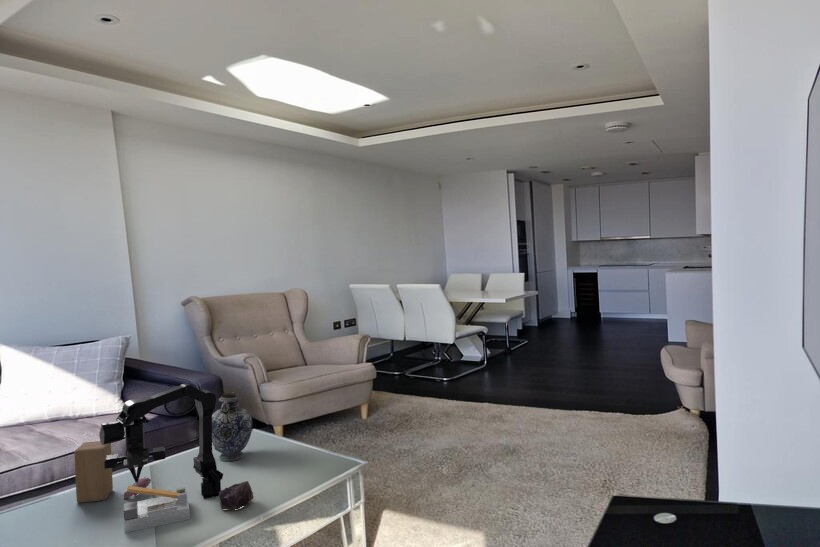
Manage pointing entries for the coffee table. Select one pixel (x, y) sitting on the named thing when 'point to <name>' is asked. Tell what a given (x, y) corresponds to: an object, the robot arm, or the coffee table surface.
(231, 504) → the rock
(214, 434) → the decorative vase
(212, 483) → the robot arm
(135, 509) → the block
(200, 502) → the coffee table surface
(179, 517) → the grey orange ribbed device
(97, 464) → the block
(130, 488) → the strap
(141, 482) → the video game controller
